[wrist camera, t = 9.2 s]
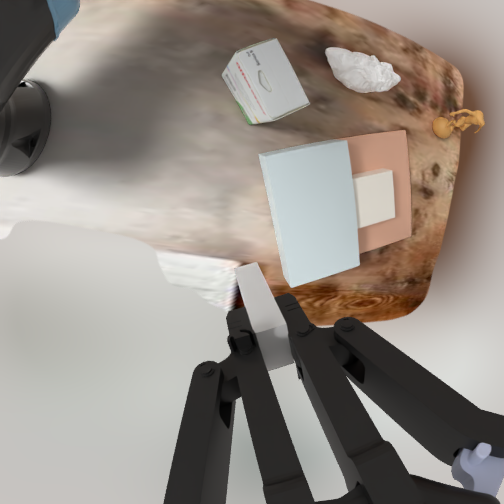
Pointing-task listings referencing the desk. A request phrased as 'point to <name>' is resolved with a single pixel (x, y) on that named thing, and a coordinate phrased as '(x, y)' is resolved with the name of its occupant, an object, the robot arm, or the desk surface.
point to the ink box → (264, 82)
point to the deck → (312, 209)
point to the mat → (396, 159)
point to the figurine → (457, 123)
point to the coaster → (373, 196)
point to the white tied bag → (361, 71)
